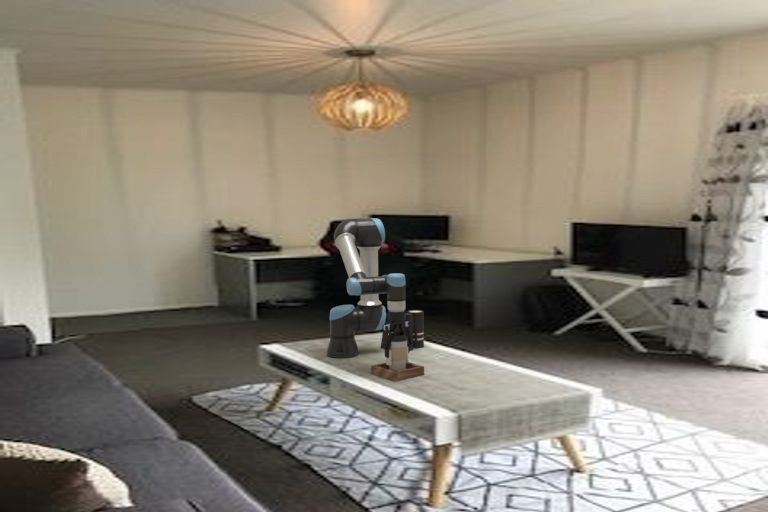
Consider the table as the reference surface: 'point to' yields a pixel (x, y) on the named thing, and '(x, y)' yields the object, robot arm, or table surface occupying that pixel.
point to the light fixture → (416, 327)
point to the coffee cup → (398, 352)
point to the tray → (385, 371)
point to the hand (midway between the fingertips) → (397, 363)
